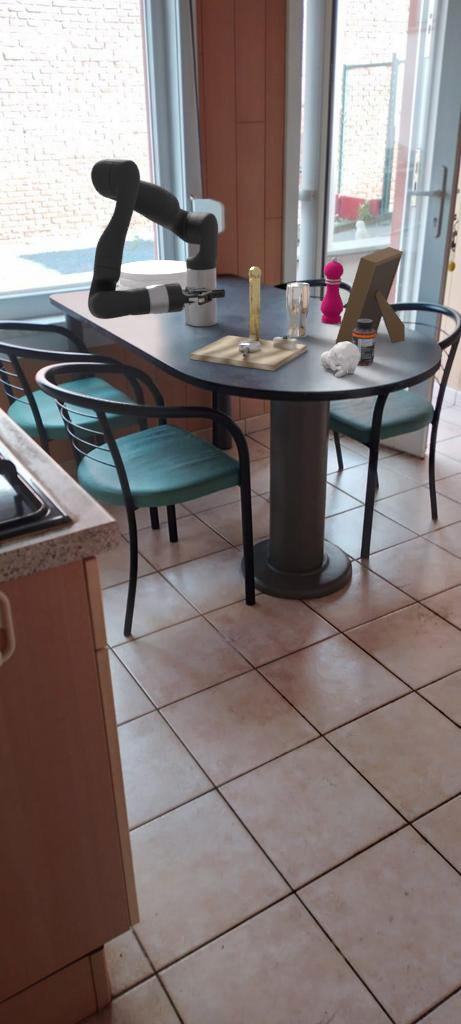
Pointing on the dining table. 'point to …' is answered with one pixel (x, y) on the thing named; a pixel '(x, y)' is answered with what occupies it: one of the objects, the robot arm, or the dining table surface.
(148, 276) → the plate stack
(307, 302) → the beer glass
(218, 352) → the stand
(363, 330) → the supplement bottle
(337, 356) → the white animal figurine
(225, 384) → the dining table surface
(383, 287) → the photo frame
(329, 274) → the pepper mill
